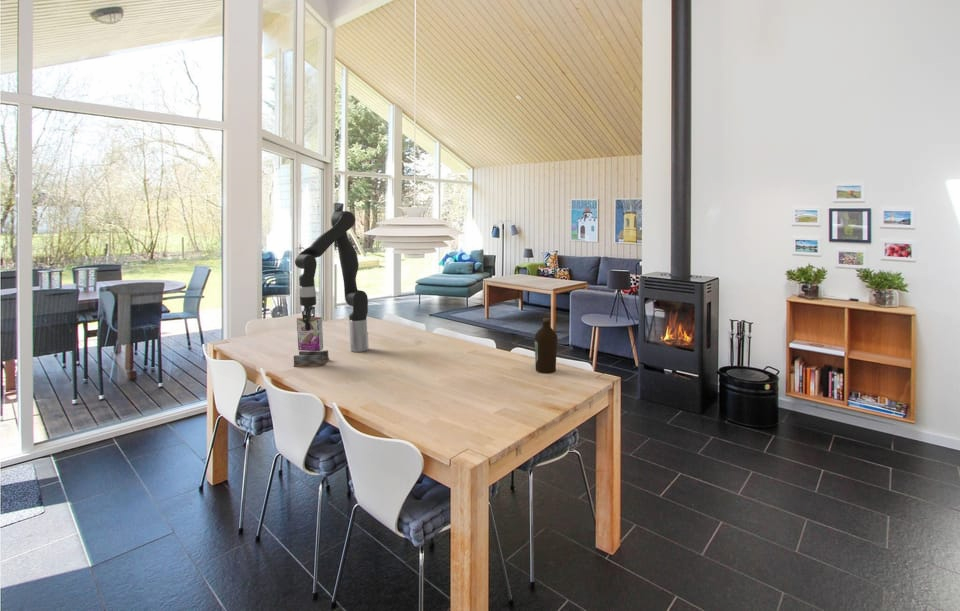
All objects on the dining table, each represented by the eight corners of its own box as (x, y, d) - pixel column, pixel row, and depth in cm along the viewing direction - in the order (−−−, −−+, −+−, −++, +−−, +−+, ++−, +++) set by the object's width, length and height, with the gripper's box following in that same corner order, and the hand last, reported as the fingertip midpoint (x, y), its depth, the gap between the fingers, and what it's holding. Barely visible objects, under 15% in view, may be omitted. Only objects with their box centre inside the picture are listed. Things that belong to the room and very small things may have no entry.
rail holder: (329, 359, 256) (328, 350, 255) (322, 366, 244) (322, 356, 243) (301, 360, 255) (300, 350, 254) (293, 366, 243) (293, 356, 243)
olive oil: (556, 367, 240) (557, 316, 236) (557, 374, 229) (558, 320, 225) (534, 366, 241) (535, 316, 237) (533, 373, 231) (534, 320, 227)
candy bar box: (297, 350, 247) (295, 318, 244) (302, 348, 252) (300, 316, 249) (319, 351, 246) (317, 318, 243) (323, 348, 251) (322, 316, 248)
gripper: (311, 297, 237) (313, 332, 240) (319, 293, 251) (321, 326, 254) (295, 297, 237) (297, 332, 240) (304, 293, 251) (306, 326, 254)
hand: (309, 329), depth 247 cm, fingers closed on candy bar box, 5 cm apart
